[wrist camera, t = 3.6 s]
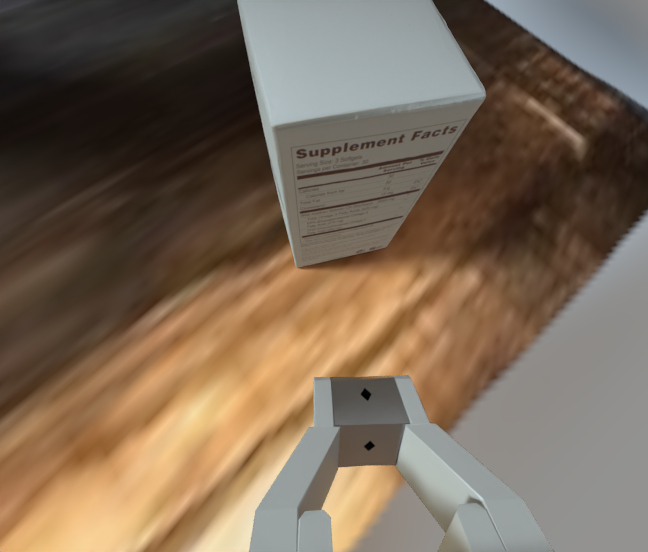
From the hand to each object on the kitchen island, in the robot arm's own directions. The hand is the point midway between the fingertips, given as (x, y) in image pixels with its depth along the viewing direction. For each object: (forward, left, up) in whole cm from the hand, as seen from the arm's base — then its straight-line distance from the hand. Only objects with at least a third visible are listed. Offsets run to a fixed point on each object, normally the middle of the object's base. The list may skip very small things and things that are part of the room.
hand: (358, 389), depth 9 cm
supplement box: (-10, +6, -9) cm, 15 cm away
